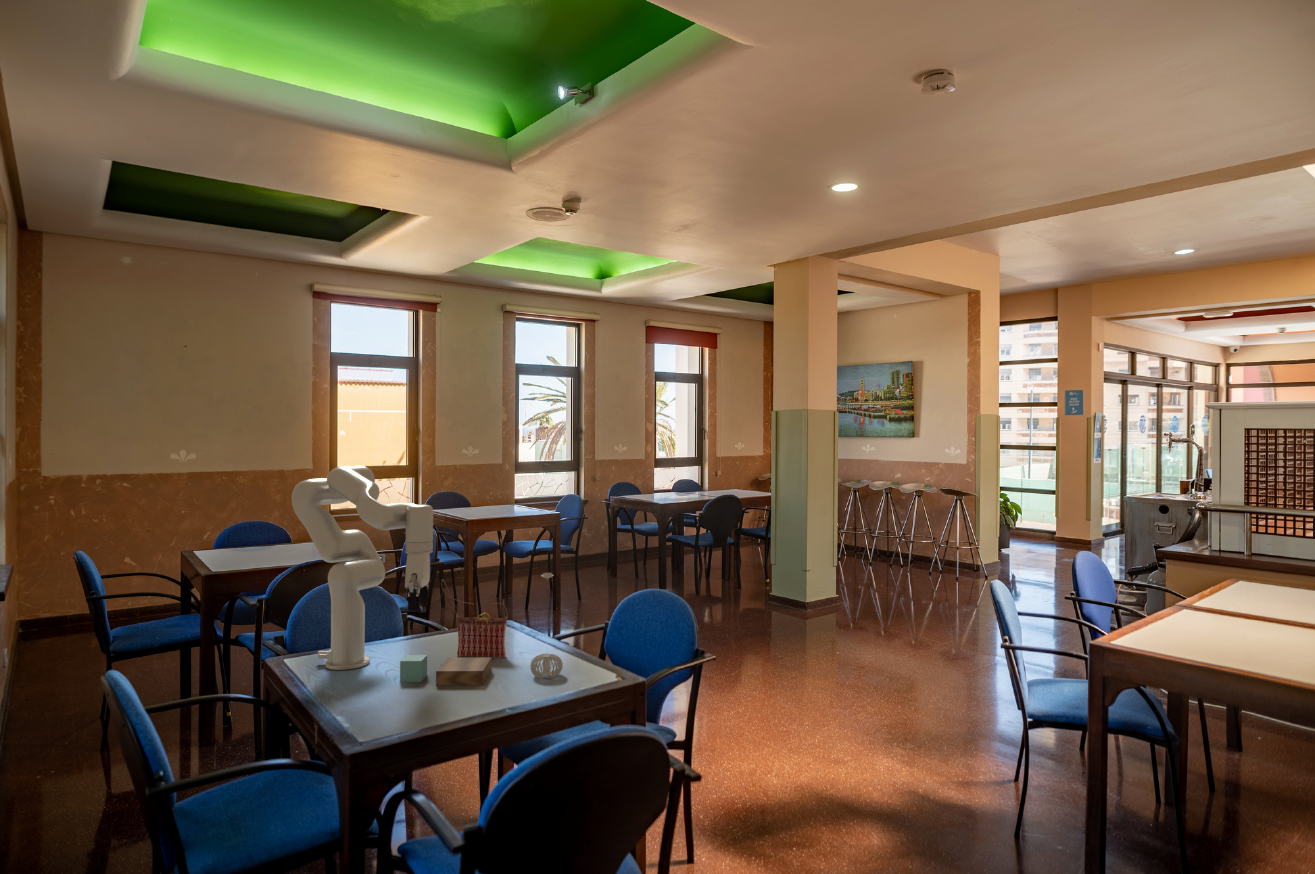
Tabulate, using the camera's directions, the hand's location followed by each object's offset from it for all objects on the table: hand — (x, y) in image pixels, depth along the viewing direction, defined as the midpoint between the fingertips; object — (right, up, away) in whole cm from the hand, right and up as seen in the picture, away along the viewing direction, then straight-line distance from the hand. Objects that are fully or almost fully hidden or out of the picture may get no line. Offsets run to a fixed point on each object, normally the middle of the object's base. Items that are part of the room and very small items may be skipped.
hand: (418, 606), depth 212 cm
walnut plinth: (+13, -21, 0) cm, 25 cm away
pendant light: (+37, -21, +2) cm, 42 cm away
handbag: (+11, -21, +20) cm, 31 cm away
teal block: (-1, -21, -1) cm, 21 cm away
